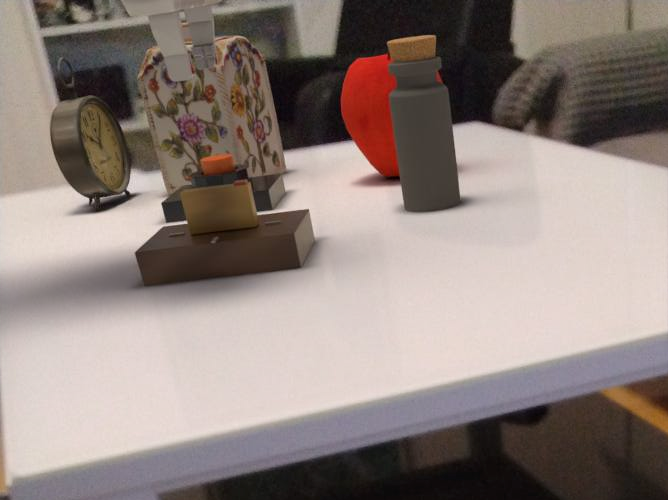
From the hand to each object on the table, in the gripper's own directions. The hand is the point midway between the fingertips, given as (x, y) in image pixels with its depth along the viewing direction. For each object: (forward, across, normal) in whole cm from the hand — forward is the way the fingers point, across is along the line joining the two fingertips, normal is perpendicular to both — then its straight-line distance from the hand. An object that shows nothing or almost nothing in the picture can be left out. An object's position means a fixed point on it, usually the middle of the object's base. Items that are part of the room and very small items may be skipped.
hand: (196, 74), depth 85 cm
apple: (+15, -34, +13) cm, 39 cm away
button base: (+15, -28, -7) cm, 32 cm away
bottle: (+15, -15, +17) cm, 27 cm away
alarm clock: (+15, -40, -25) cm, 49 cm away
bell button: (+12, -28, -7) cm, 31 cm away
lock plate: (+15, 0, -1) cm, 15 cm away
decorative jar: (+15, -44, -10) cm, 47 cm away
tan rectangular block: (+12, 0, -1) cm, 12 cm away
